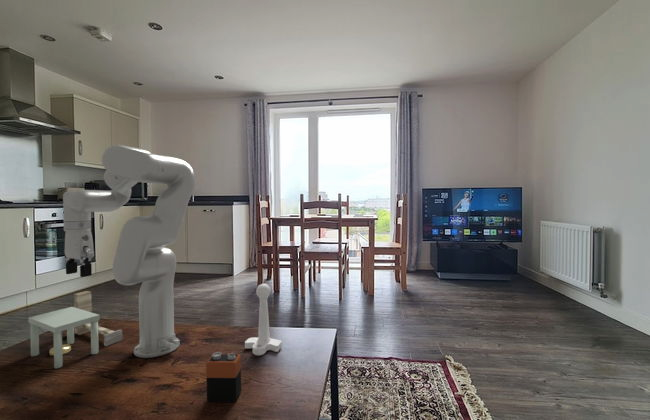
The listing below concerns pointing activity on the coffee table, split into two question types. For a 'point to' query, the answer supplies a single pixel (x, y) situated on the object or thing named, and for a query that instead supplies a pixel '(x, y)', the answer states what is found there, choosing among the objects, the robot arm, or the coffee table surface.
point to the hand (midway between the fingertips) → (78, 274)
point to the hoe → (85, 303)
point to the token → (65, 349)
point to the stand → (59, 323)
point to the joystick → (263, 326)
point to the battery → (223, 377)
